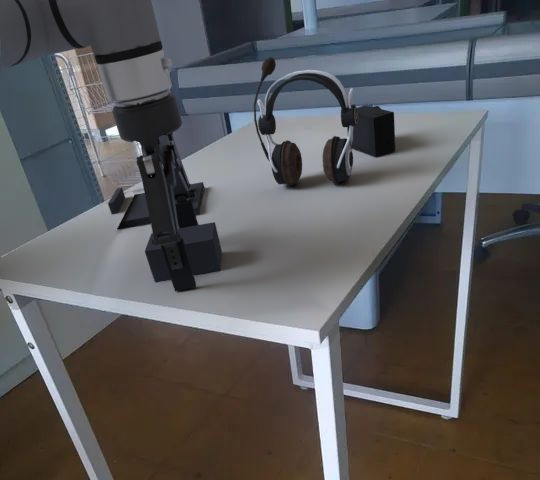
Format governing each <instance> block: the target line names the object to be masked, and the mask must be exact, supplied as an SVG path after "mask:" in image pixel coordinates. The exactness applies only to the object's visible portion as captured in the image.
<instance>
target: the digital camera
mask: <svg viewBox="0 0 540 480" xmlns="http://www.w3.org/2000/svg"><path fill="white" fill-rule="evenodd" d="M356 107H357V110H358V122H357V124H356V126H354V127H353V140H352V144H351V148H352V150H355V151H358V152H361V153H363V154H367V155H369V156H371V157H374V158H379V157H381V156H382V157H383V156H384V155H387V154H391V153H395V152H396V133H395V132H396V130H395V128H396V127H395V125H396V124H395V112H394V111H391V110H386V109H382V108H381V107H380V106H379V105H374V106H371V105H370V106H369V105H365V104H364V105H361V106H356ZM346 130H347V135H348V134H349V127H346ZM349 142H350V141H349Z"/></svg>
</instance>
